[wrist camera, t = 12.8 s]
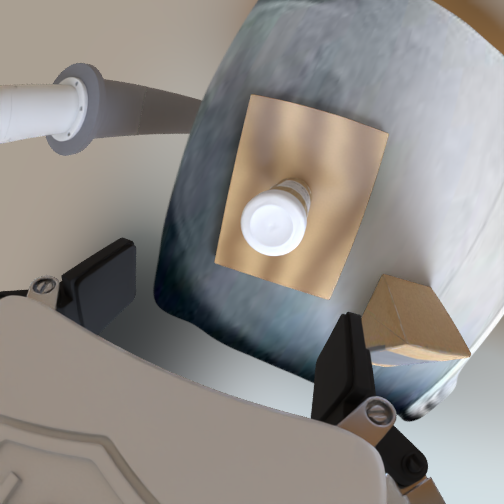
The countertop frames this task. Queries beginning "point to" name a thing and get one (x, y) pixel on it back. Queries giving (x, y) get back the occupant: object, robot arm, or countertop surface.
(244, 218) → the sprinkles bottle
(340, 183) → the chopping board
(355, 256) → the countertop surface
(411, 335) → the sandwich container
